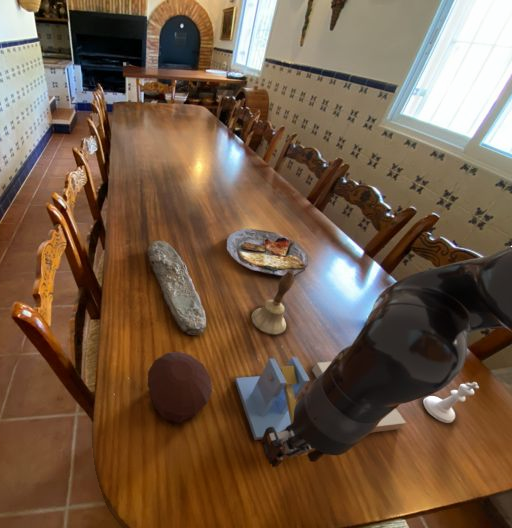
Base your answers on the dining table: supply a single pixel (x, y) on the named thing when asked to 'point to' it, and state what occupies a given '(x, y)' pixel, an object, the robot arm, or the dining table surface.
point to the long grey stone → (177, 288)
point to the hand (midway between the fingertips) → (290, 457)
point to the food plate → (266, 252)
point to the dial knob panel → (386, 423)
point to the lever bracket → (269, 397)
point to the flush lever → (290, 391)
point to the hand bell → (274, 309)
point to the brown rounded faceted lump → (178, 386)
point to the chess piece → (448, 402)
